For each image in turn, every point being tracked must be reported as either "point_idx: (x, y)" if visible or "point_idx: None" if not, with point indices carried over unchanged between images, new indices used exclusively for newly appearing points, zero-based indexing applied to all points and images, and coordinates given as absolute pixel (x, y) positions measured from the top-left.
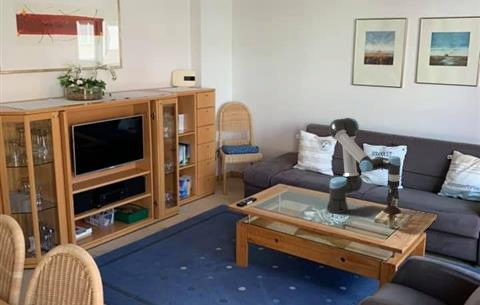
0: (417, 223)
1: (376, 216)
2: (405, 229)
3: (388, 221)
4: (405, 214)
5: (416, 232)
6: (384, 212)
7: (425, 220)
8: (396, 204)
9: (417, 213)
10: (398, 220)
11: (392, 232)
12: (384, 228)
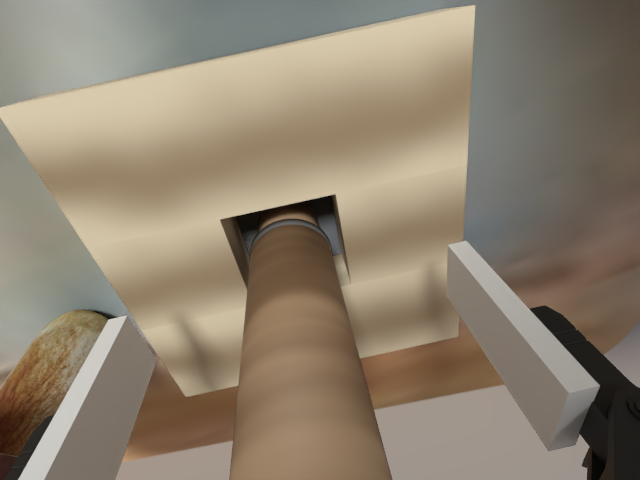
0: (372, 380)
1: (101, 96)
2: (175, 393)
3: (14, 367)
4: (452, 312)
5: (187, 446)
6: (390, 92)
7: (471, 380)
8: (482, 340)
9: (632, 280)
10: (219, 356)
11: (7, 376)
12: (9, 292)
